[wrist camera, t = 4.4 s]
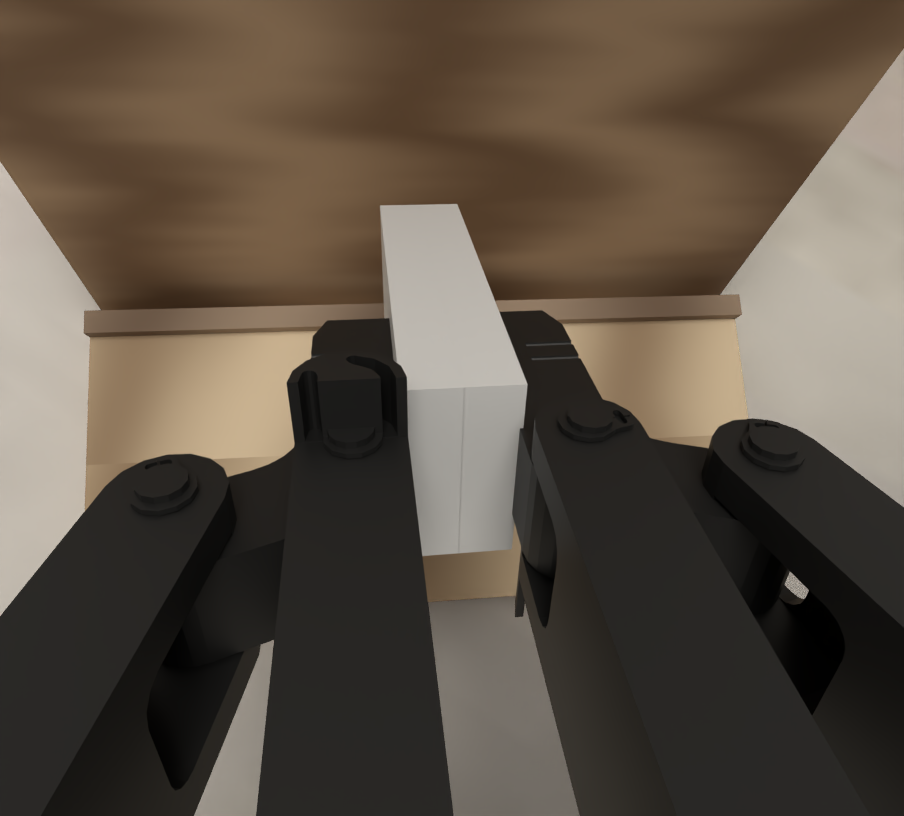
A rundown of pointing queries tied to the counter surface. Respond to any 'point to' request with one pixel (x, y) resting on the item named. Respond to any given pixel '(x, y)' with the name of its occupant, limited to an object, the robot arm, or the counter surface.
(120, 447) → the laid floorboards
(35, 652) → the robot arm
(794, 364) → the counter surface
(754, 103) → the board
